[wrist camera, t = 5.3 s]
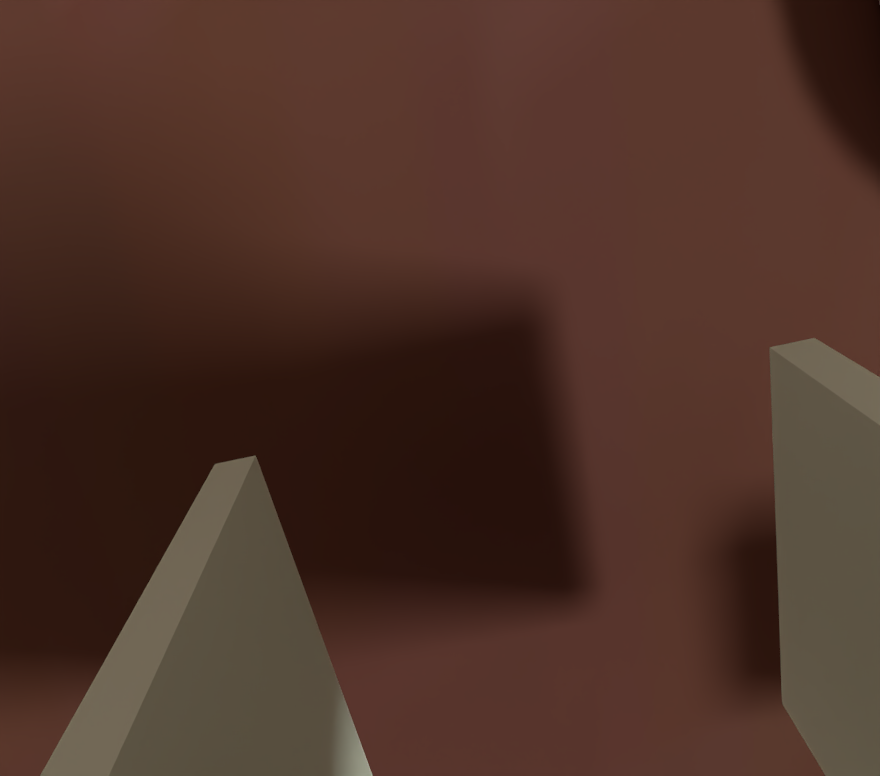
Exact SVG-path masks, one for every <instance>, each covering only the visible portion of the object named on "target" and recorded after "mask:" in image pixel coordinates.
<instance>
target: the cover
mask: <svg viewBox="0 0 880 776" xmlns="http://www.w3.org/2000/svg"><path fill="white" fill-rule="evenodd" d="M770 373H771V402H772V431H773V459H774V488H775V517H776V545H777V574H778V603H779V631H780V660H781V689H782V704H783V706H784V707H785V709H786V711H787V712H788V714H789V716H790V717H791V719H792V721H793V722H794V724H795V726H796V727H797V729H798V731H799V732H800V734H801V736H802V737H803V739H804V741H805V742H806V744H807V746H808V747H809V749H810V751H811V752H812V754H813V756H814V757H815V759H816V761H817V762H818V764H819V766H820V767H821V769H822V771H823V772H824V774H825V776H880V377H878V376H877V375H875V374H873V373H872V372H870V371H868V370H867V369H865V368H863V367H862V366H860V365H858V364H857V363H855V362H853V361H852V360H850V359H848V358H847V357H845V356H844V355H842V354H840V353H839V352H837V351H835V350H834V349H832V348H830V347H829V346H827V345H825V344H824V343H822V342H820V341H819V340H817V339H815V338H812V339H807V340H803V341H798V342H793V343H788V344H783V345H779V346H774V347H770ZM40 776H373V775H372V773H371V770H370V767H369V764H368V762H367V759H366V756H365V754H364V751H363V748H362V745H361V743H360V740H359V737H358V734H357V732H356V729H355V726H354V723H353V721H352V718H351V715H350V712H349V710H348V707H347V704H346V701H345V699H344V696H343V693H342V690H341V688H340V685H339V682H338V680H337V677H336V674H335V671H334V669H333V666H332V663H331V660H330V658H329V655H328V652H327V649H326V647H325V644H324V641H323V638H322V636H321V633H320V630H319V627H318V625H317V622H316V619H315V616H314V614H313V611H312V608H311V606H310V603H309V600H308V597H307V595H306V592H305V589H304V586H303V584H302V581H301V578H300V575H299V573H298V570H297V567H296V564H295V562H294V559H293V556H292V553H291V551H290V548H289V545H288V542H287V540H286V537H285V534H284V531H283V529H282V526H281V523H280V521H279V518H278V515H277V512H276V510H275V507H274V504H273V501H272V499H271V496H270V493H269V490H268V488H267V485H266V482H265V479H264V477H263V474H262V471H261V468H260V466H259V463H258V460H257V457H256V455H255V456H251V457H246V458H241V459H236V460H232V461H227V462H222V463H217V464H215V465H214V466H213V468H212V470H211V472H210V474H209V475H208V477H207V479H206V481H205V483H204V484H203V486H202V488H201V490H200V491H199V493H198V495H197V497H196V499H195V500H194V502H193V504H192V506H191V507H190V509H189V511H188V513H187V515H186V516H185V518H184V520H183V522H182V524H181V525H180V527H179V529H178V531H177V532H176V534H175V536H174V538H173V540H172V541H171V543H170V545H169V547H168V549H167V550H166V552H165V554H164V556H163V557H162V559H161V561H160V563H159V565H158V566H157V568H156V570H155V572H154V574H153V575H152V577H151V579H150V581H149V582H148V584H147V586H146V588H145V590H144V591H143V593H142V595H141V597H140V599H139V600H138V602H137V604H136V606H135V607H134V609H133V611H132V613H131V615H130V616H129V618H128V620H127V622H126V624H125V625H124V627H123V629H122V631H121V632H120V634H119V636H118V638H117V640H116V641H115V643H114V645H113V647H112V649H111V650H110V652H109V654H108V656H107V657H106V659H105V661H104V663H103V665H102V666H101V668H100V670H99V672H98V673H97V675H96V677H95V679H94V681H93V682H92V684H91V686H90V688H89V690H88V691H87V693H86V695H85V697H84V698H83V700H82V702H81V704H80V706H79V707H78V709H77V711H76V713H75V715H74V716H73V718H72V720H71V722H70V723H69V725H68V727H67V729H66V731H65V732H64V734H63V736H62V738H61V740H60V741H59V743H58V745H57V747H56V748H55V750H54V752H53V754H52V756H51V757H50V759H49V761H48V763H47V765H46V766H45V768H44V770H43V772H42V773H41V775H40Z"/></svg>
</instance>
